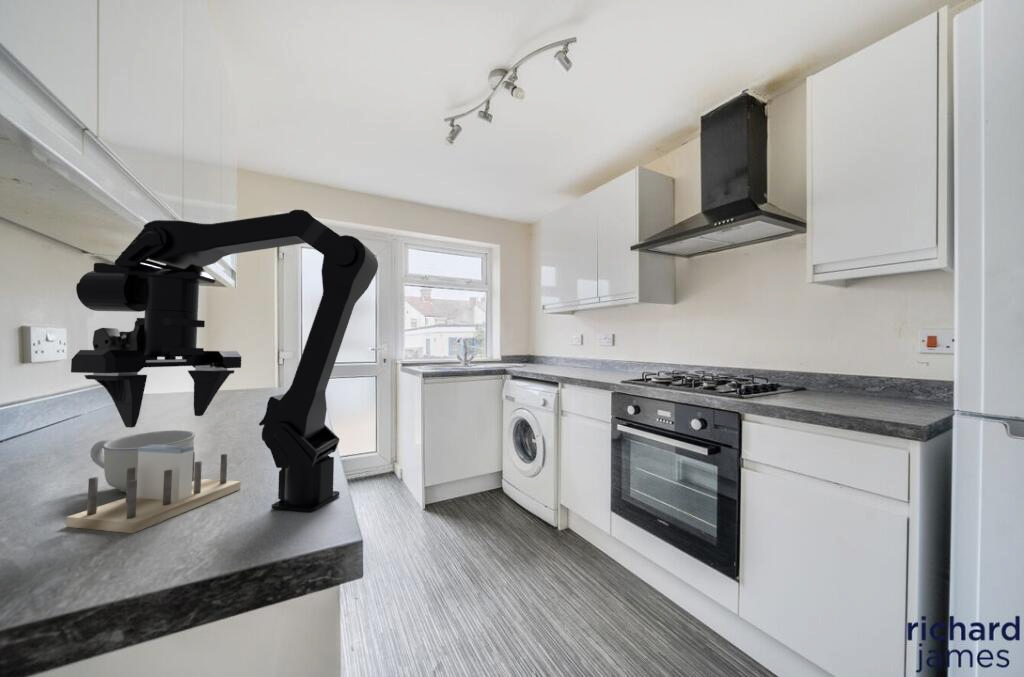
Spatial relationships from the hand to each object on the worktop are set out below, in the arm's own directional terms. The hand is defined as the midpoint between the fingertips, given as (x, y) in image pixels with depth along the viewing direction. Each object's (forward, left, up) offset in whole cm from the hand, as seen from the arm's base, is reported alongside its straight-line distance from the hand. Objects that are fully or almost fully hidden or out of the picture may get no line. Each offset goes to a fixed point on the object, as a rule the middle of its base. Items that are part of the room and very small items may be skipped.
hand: (167, 421), depth 54 cm
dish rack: (0, 0, -12) cm, 12 cm away
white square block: (0, 0, -11) cm, 11 cm away
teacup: (+12, -6, -12) cm, 18 cm away
